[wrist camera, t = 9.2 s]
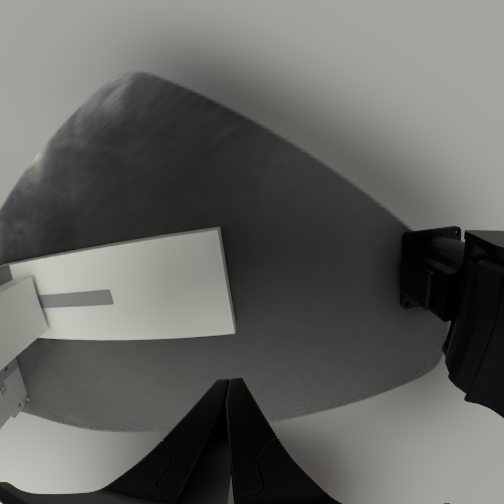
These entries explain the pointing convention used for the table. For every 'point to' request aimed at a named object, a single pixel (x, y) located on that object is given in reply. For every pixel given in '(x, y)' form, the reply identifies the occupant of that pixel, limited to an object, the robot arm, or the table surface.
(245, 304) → the table surface
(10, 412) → the circuit breaker
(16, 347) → the handle
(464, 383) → the robot arm
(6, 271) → the long white slab
